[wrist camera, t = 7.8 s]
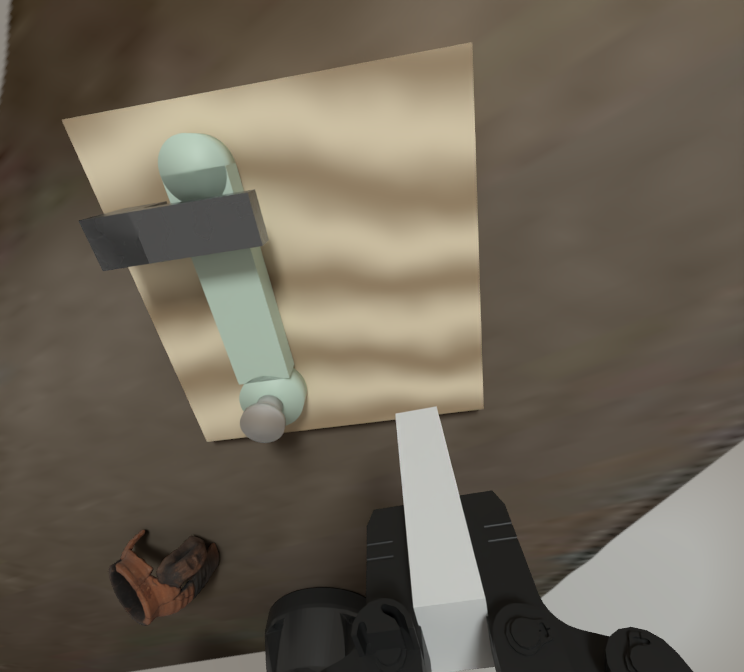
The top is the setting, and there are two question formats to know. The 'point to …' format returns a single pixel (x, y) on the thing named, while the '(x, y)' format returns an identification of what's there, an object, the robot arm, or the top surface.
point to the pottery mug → (162, 579)
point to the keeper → (176, 230)
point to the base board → (325, 236)
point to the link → (235, 279)
